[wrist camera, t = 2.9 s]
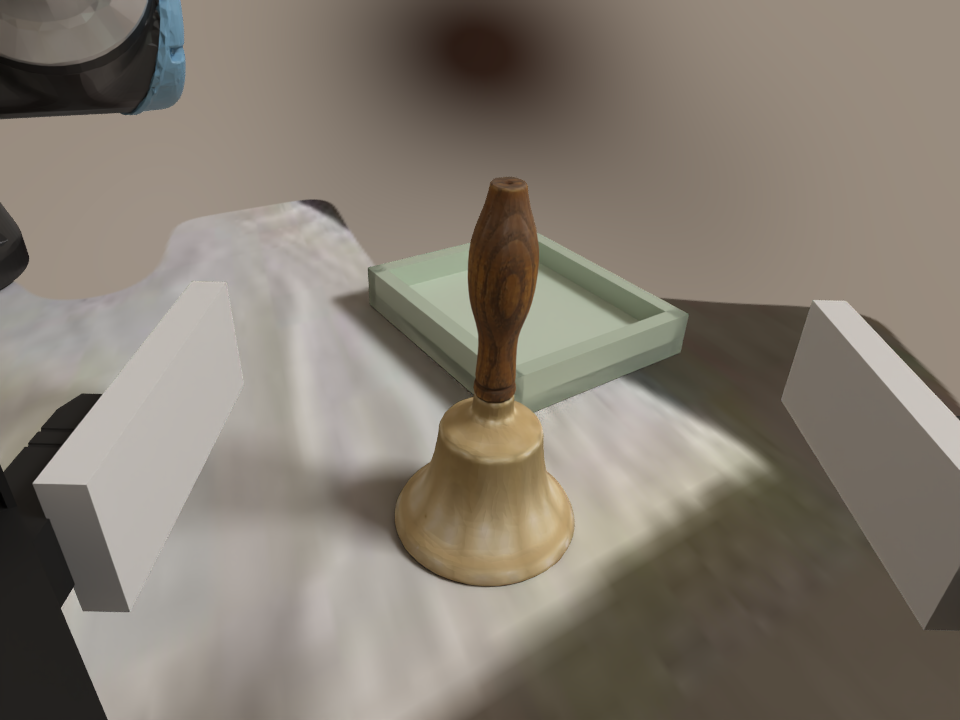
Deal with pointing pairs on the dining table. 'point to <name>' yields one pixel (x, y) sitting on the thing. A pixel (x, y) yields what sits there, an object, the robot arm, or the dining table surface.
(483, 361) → the hand bell
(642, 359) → the tray
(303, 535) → the dining table surface
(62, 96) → the robot arm
